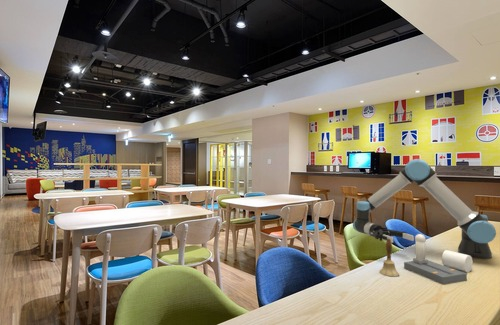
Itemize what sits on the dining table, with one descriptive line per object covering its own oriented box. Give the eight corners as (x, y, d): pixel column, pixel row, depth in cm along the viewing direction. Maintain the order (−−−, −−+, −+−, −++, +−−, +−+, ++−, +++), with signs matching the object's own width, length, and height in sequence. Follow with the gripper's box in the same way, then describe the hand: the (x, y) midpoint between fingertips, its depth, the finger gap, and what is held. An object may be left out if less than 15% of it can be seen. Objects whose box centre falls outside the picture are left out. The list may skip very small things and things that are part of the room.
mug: (464, 274, 132) (464, 256, 132) (441, 267, 141) (441, 251, 141) (477, 269, 138) (476, 253, 138) (454, 263, 147) (453, 247, 147)
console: (425, 265, 143) (425, 259, 143) (466, 280, 124) (466, 273, 124) (404, 268, 139) (404, 261, 139) (442, 284, 120) (442, 277, 120)
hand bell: (375, 271, 135) (375, 237, 135) (388, 269, 138) (388, 236, 138) (390, 277, 127) (389, 242, 127) (403, 275, 130) (403, 240, 131)
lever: (420, 260, 141) (420, 232, 142) (428, 263, 137) (428, 235, 137) (412, 261, 140) (412, 233, 140) (420, 264, 135) (420, 235, 136)
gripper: (390, 235, 172) (421, 244, 152) (356, 237, 164) (383, 248, 144) (390, 222, 172) (421, 230, 152) (356, 224, 165) (383, 233, 144)
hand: (403, 239), depth 148 cm, fingers open, 13 cm apart
